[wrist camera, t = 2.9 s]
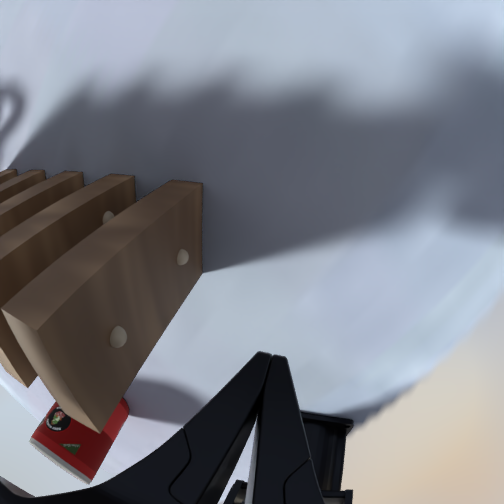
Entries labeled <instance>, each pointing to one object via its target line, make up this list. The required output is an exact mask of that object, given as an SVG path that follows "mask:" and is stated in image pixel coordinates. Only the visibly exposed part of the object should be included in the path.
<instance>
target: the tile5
mask: <svg viewBox="0 0 504 504" xmlns="http://www.w3.org/2000/svg"><path fill="white" fill-rule="evenodd" d="M15 177H17V171H16V169H6V170H4V171H2V172H0V184H2V183H4V182H6V181H8V180H10V179H13V178H15Z"/></svg>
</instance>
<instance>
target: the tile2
mask: <svg viewBox="0 0 504 504" xmlns="http://www.w3.org/2000/svg"><path fill="white" fill-rule="evenodd" d="M134 203H136V194H135V179H134V176H131V175H119V174H109V175H107V176H105V177H103V178H101V179H99V180H97V181H95V182H93V183H91V184H89V185H87V186H85V187H83V188H81V189H79V190H78V191H76V192H74V193H72V194H70V195H68V196H66V197H65V198H63V199H61V200H59V201H57V202H56V203H54V204H52V205H50V206H49V207H47V208H45V209H44V210H42V211H40V212H39V213H37V214H35V215H34V216H32V217H30V218H29V219H27V220H26V221H24V222H22V223H21V224H19V225H18V226H16V227H15V228H13V229H11V230H10V231H8V232H7V233H5V234H4V235H2V236H1V237H0V363H1V364H2V366H3V367H4V369H5V370H6V372H8V373H9V374H10V375H11V376H13V377H14V378H15V379H16V380H18V381H19V382H20V383H22V384H23V385H24V386H26V387H27V388H28V387H29V386H30V385H31V384H32V382H33V381H34V380H35V378H36V377H37V376H38V374H37V373H36V371H35V370H34V368H33V366H32V365H31V363H30V362H29V360H28V358H27V357H26V355H25V353H24V351H23V350H22V348H21V346H20V344H19V343H18V341H17V339H16V337H15V335H14V333H13V332H12V330H11V328H10V326H9V324H8V322H7V320H6V318H5V316H4V314H3V312H2V310H1V308H2V307H3V306H4V305H5V304H6V303H7V302H8V301H9V300H10V299H11V298H13V297H14V296H15V295H16V294H17V293H18V292H19V291H20V290H22V289H23V288H24V287H25V286H26V285H27V284H28V283H30V282H31V281H32V280H33V279H34V278H35V277H37V276H38V275H39V274H40V273H41V272H43V271H44V270H45V269H46V268H47V267H49V266H50V265H51V264H52V263H54V262H55V261H56V260H57V259H59V258H60V257H61V256H62V255H64V254H65V253H66V252H68V251H69V250H70V249H71V248H73V247H74V246H75V245H77V244H78V243H79V242H81V241H82V240H83V239H85V238H86V237H87V236H89V235H90V234H91V233H93V232H94V231H96V230H97V229H98V228H100V227H101V226H102V225H104V224H105V223H107V222H108V221H109V220H111V219H112V218H114V217H115V216H117V215H118V214H120V213H121V212H122V211H124V210H125V209H127V208H128V207H130V206H131V205H133V204H134Z"/></svg>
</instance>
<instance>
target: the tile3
mask: <svg viewBox="0 0 504 504" xmlns="http://www.w3.org/2000/svg"><path fill="white" fill-rule="evenodd" d="M83 187H84V181H83V172H75V171H64V172H62V173H59V174H57V175H55V176H53V177H51V178H49V179H47V180H45V181H42V182H40V183H38V184H36V185H34V186H32V187H30V188H28V189H26V190H25V191H23V192H21V193H19V194H17V195H15V196H13V197H11V198H10V199H8V200H6V201H4V202H2V203H1V204H0V237H1V236H2V235H4V234H5V233H7V232H8V231H10V230H11V229H13V228H15V227H16V226H18V225H19V224H21V223H22V222H24V221H26V220H27V219H29V218H30V217H32V216H34V215H35V214H37V213H39V212H40V211H42V210H44V209H45V208H47V207H49V206H50V205H52V204H54V203H56V202H57V201H59V200H61V199H63V198H65V197H66V196H68V195H70V194H72V193H74V192H76V191H78V190H79V189H81V188H83Z"/></svg>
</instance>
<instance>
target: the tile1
mask: <svg viewBox="0 0 504 504" xmlns="http://www.w3.org/2000/svg"><path fill="white" fill-rule="evenodd" d="M202 193H203V183H197V182H189V181H180V180H170V181H169V182H167V183H165V184H164V185H162V186H161V187H159V188H157V189H156V190H154V191H153V192H151V193H150V194H148V195H147V196H145V197H143V198H142V199H140V200H139V201H137V202H136V203H134V204H133V205H131V206H130V207H128V208H127V209H125V210H124V211H122V212H121V213H120V214H118V215H117V216H115V217H114V218H112V219H111V220H109V221H108V222H107V223H105V224H104V225H102V226H101V227H100V228H98V229H97V230H96V231H94V232H93V233H91V234H90V235H89V236H87V237H86V238H85V239H83V240H82V241H81V242H79V243H78V244H77V245H75V246H74V247H73V248H71V249H70V250H69V251H68V252H66V253H65V254H64V255H62V256H61V257H60V258H59V259H57V260H56V261H55V262H54V263H52V264H51V265H50V266H49V267H47V268H46V269H45V270H44V271H43V272H41V273H40V274H39V275H38V276H37V277H35V278H34V279H33V280H32V281H31V282H30V283H28V284H27V285H26V286H25V287H24V288H23V289H22V290H20V291H19V292H18V293H17V294H16V295H15V296H14V297H13V298H11V299H10V300H9V301H8V302H7V303H6V304H5V305H4V306H3V307H2V308H1V310H2V312H3V314H4V316H5V318H6V320H7V322H8V324H9V326H10V328H11V330H12V332H13V333H14V335H15V337H16V339H17V341H18V343H19V344H20V346H21V348H22V350H23V351H24V353H25V355H26V357H27V358H28V360H29V362H30V363H31V365H32V366H33V368H34V370H35V371H36V373H37V374H38V376H39V377H40V379H41V380H42V382H43V383H44V385H45V386H46V388H47V389H48V391H49V392H50V393H51V395H52V396H53V398H54V399H55V400H56V402H57V403H58V404H59V406H60V407H61V408H62V410H63V411H64V412H65V414H67V415H68V416H70V417H72V418H73V419H75V420H77V421H78V422H80V423H82V424H84V425H85V426H87V427H89V428H91V429H93V430H94V431H96V432H98V433H101V431H102V430H103V428H104V426H105V425H106V423H107V422H108V420H109V418H110V417H111V415H112V413H113V412H114V410H115V408H116V407H117V405H118V404H119V402H120V400H121V399H122V397H123V395H124V394H125V392H126V391H127V389H128V387H129V386H130V384H131V383H132V381H133V379H134V378H135V376H136V375H137V373H138V371H139V370H140V368H141V367H142V365H143V364H144V362H145V360H146V359H147V357H148V356H149V354H150V353H151V351H152V349H153V348H154V346H155V345H156V343H157V342H158V340H159V339H160V337H161V336H162V334H163V332H164V331H165V329H166V328H167V326H168V325H169V323H170V322H171V320H172V319H173V317H174V316H175V314H176V313H177V311H178V309H179V308H180V306H181V305H182V303H183V302H184V300H185V299H186V297H187V296H188V294H189V293H190V291H191V290H192V288H193V287H194V285H195V284H196V282H197V281H198V279H199V278H200V276H201V275H202Z"/></svg>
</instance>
